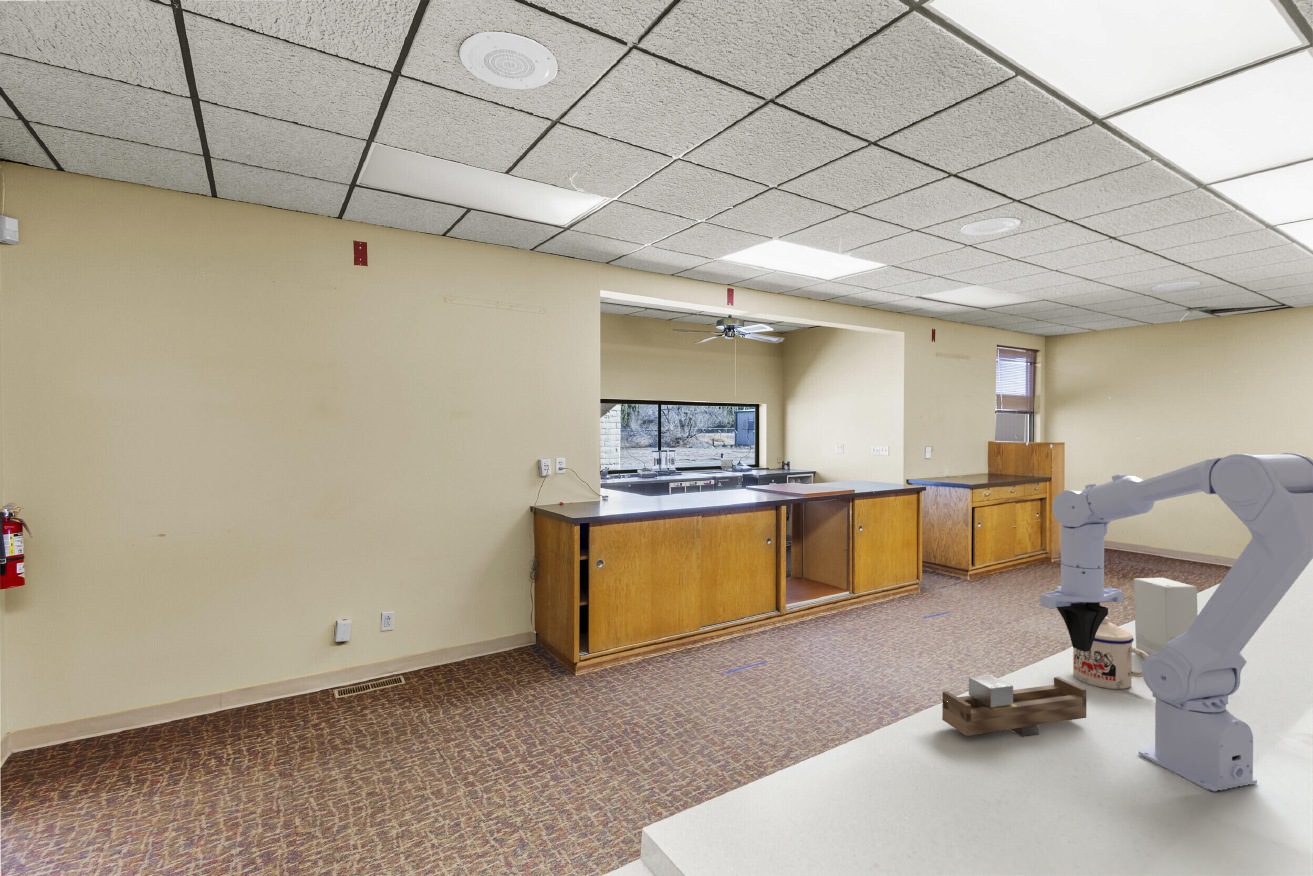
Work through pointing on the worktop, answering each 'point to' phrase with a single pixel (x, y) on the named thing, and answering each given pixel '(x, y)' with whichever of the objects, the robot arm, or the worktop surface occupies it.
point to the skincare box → (1162, 611)
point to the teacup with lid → (1107, 658)
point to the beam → (1017, 709)
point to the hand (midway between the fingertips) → (1081, 649)
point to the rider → (990, 691)
